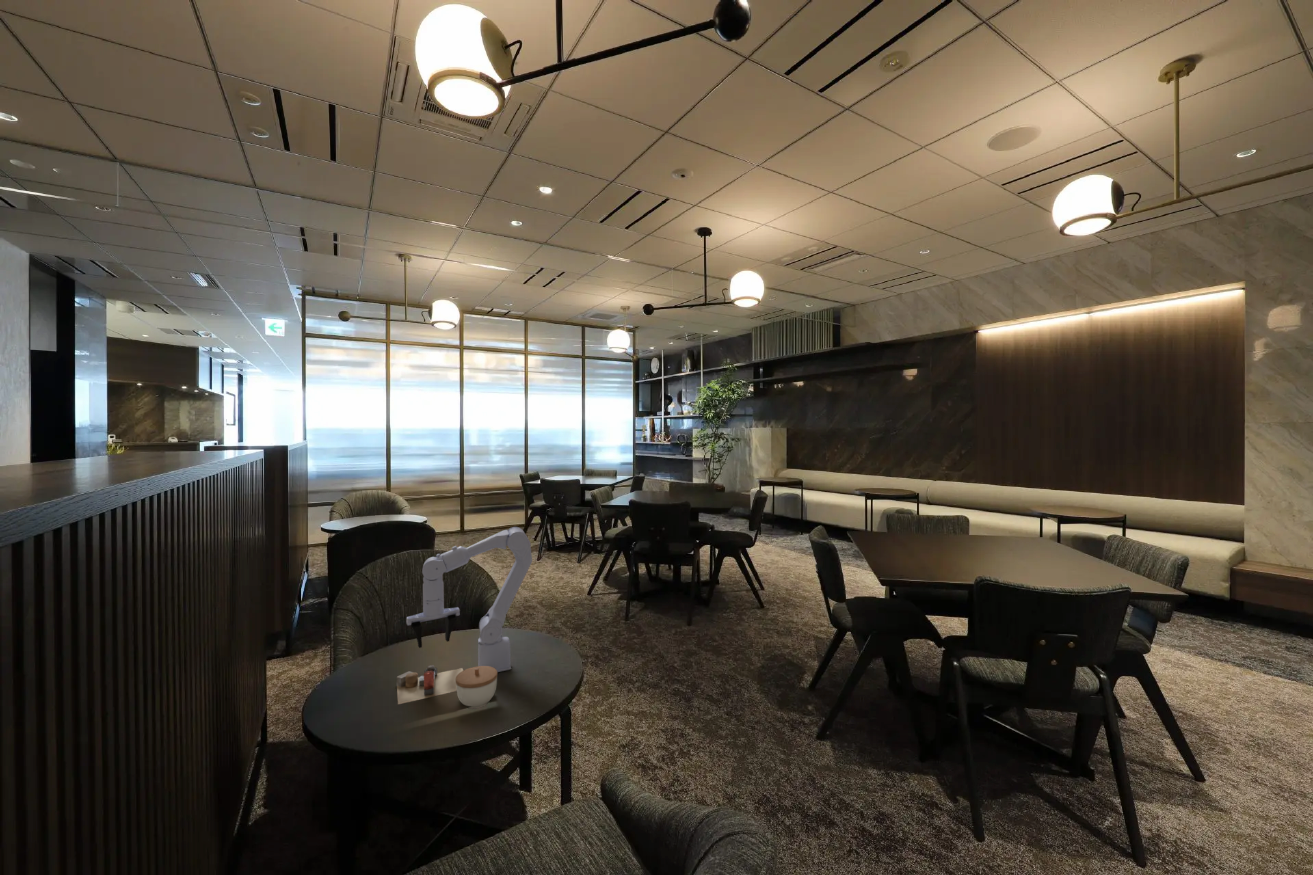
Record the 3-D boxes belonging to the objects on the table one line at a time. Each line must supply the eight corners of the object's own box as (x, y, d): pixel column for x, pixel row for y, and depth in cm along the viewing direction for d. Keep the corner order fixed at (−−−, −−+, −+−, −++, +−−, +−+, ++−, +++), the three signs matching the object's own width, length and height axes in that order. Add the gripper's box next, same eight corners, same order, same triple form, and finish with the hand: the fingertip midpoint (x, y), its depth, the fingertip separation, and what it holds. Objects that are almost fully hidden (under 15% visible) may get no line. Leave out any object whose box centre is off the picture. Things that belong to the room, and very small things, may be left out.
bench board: (462, 671, 156) (462, 658, 156) (469, 692, 144) (469, 678, 144) (396, 685, 147) (396, 672, 147) (397, 708, 135) (397, 693, 135)
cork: (417, 681, 147) (417, 671, 147) (418, 686, 145) (418, 676, 145) (405, 684, 146) (405, 673, 146) (405, 689, 143) (405, 678, 143)
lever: (437, 671, 153) (437, 653, 153) (435, 693, 140) (435, 673, 140) (420, 674, 151) (420, 655, 151) (417, 696, 138) (417, 676, 138)
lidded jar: (473, 718, 131) (473, 681, 131) (447, 706, 136) (447, 671, 136) (506, 699, 140) (505, 665, 140) (480, 689, 145) (479, 656, 145)
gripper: (455, 590, 159) (455, 633, 159) (404, 599, 151) (405, 644, 151) (461, 596, 154) (461, 641, 154) (408, 605, 145) (408, 652, 145)
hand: (433, 643), depth 152 cm, fingers open, 7 cm apart
